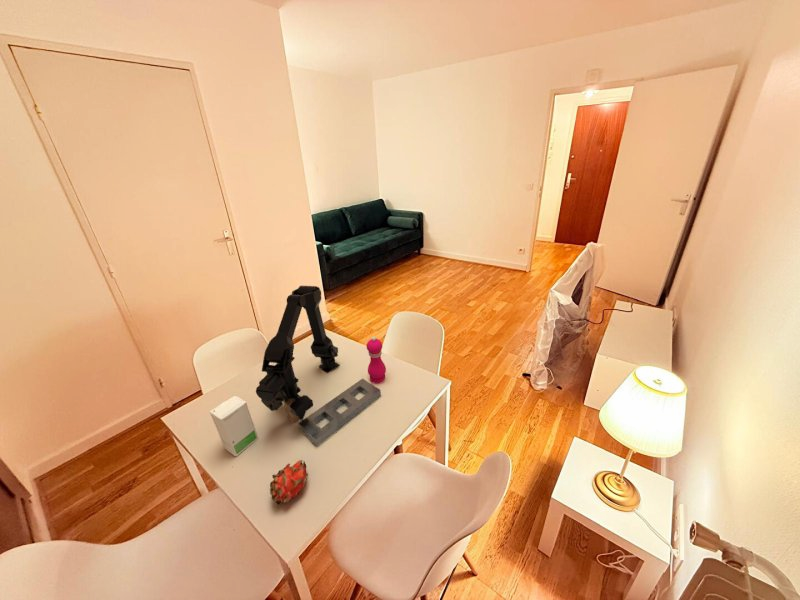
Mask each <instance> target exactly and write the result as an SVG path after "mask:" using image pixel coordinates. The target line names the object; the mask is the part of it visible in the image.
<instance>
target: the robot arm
mask: <svg viewBox="0 0 800 600" xmlns="http://www.w3.org/2000/svg"><path fill="white" fill-rule="evenodd" d="M321 301H322V290H321V289H320V287H318V286H317V285H316V286H315V285H299V287H298V288H295V289H294V290H292V291H291V294H289V295H288V296H287V298H286V306H285V308H284V312H283V314H282V317H281V321H280V323H279V326H278V329H277V332H276V334H275V335H274V337H272V338H271V339H270V340H269V342H268V344H267V346H266V348H265V351H264V355H263V362H262V366H261V367H262V368H261V372H264V373H266V375H265V376H264V377H263V378H262V379H260V380H259V382H258V384H259V385H258V386H257V387H256V389H255V393H256V395H257V397H258V398H260V399H261V403H262V404H263V405H264V406H265V407H266V408H267V409H269V410H270V411H271V412H274V411H277V410H279V409H280V408H281V407H282V406H283V405H284V402H283V400H284V401H285V402H286V401H288V400H289V399H292V400H293V401H294V402H292V403H291V405H290V409H291V410H290V411H291V412H292V413H293V414H294V415H296V416H298V417H299V419H300V420H299V421H302V420H304V419H305V416H306V413H307V411H308V410H309V409H310V410H311V408H313V407H314V401H313V400H312V399H311V397H309V396H308V395H305V394H303V395H302V396H301V395H299V393H300V392H302V389H301V388H300V387H299V386H298V383H299V378H297V377H296V376H295V372H294V368H293V363H292V362H293V361H294V360H295V359H296V358H295V356H293V355H294V350H295V345H294V342H293V338H294V334H295V332H296V329H297V325H298V322H299V319H300V315H301V312H302V310H303V309H304V310H305V312H306V316H307V319H308V323H309V326H310V330H311V335H312V337H313V338H312V339H313V341H312V343H311V345H310V349H311V354H312V355H313V356H314V357H315V358H319V359H320V364H319V365H318V368H319V369H320V370H322V371H323V372H324V373H326V374H328V373H330V372H332V371H333V370H334V369H336V368H338V367H339V366H340V364H339V363H338V362H336V358H337V357H338V356H339V348H338V347H337V346H334V344H333V340H332V339H330V337H329V336H327V333H326V329H325V325H324V322H323V316H322V312H321V310H320V303H321ZM302 308H303V309H302ZM270 363H271V364H270ZM272 363H273V364H272ZM274 364H275V365H274Z"/></svg>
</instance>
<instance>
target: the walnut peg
mask: <svg viewBox="0 0 800 600" xmlns="http://www.w3.org/2000/svg"><path fill="white" fill-rule="evenodd" d="M292 402H294V401H293V400H292V399H289V400H288V401H286V402H285V401H284V400H283V401H282V403H283V405H284V409H285V411H286V415H287V418H288V420H290V421H291V422H292V424H296V423H297V422H298V421H301V420H300V419H299V417H298V416H296V415H294V414H293V413H292V412H291V411H290V410H291V409H290V405H291V403H292Z"/></svg>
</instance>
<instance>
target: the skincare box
mask: <svg viewBox="0 0 800 600" xmlns="http://www.w3.org/2000/svg"><path fill="white" fill-rule="evenodd" d="M209 414H210V416H211V418H212V421H213V424H214V426H215V428H216V430H217V432H218V435H219V437H220V438H219V439H220V441H221V443H222V446H223V448H224V449H225V450H226V451H228V452H229V453H230V454H232V455H233V456H234V457H238V456H239V455H240V454H241V453H242V452H244V451H245V450H246V449H248V448H249V447H250V446H251V445H253V444H254V443H255V442H256V441H257V440H259V436H258V433H257V430H256V427H255V424H254V422H253V418H252V416H251V415H252V414H251V413H250V409H249V406H248V404H247V401H245V400H243V399H242V398H240V397H238V396H236V395H233V396H232V397H231V398H229V399H227V400H226V401H223V402H221V403H220V404H219V405H218V406H216V407H214V408H213V409H212V410H210V411H209Z"/></svg>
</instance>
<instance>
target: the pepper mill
mask: <svg viewBox="0 0 800 600" xmlns="http://www.w3.org/2000/svg"><path fill="white" fill-rule="evenodd" d="M382 349H383V342H382V341H381V339H378V338H377V337H376V336H372V337H371V339H369V340H368V341H367V342H366V350H367V352H368V356H369V357H370V361H369V364H368V366H367V373H368V375H369V380H370V382H371V384H375V385H377V384H382V383H384V381H386V372H387V367H386V365H385V363H384V361H383V360H382V358H381V355H382V354H383V353H382Z"/></svg>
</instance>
